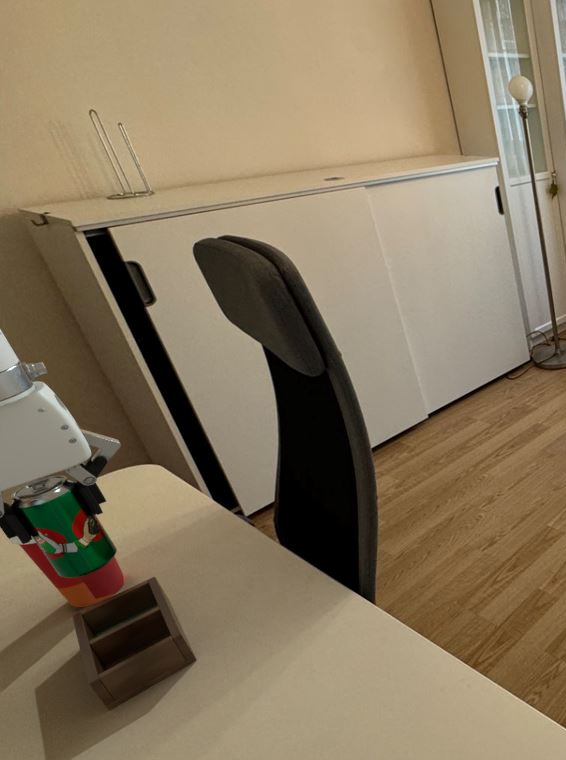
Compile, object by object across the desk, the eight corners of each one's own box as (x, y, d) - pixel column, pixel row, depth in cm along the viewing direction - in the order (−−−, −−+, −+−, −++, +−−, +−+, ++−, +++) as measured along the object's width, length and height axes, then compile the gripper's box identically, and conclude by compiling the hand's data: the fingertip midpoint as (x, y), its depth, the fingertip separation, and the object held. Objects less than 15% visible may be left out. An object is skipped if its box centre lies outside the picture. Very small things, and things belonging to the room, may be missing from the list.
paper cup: (135, 563, 86) (91, 490, 80) (135, 591, 80) (88, 515, 75) (61, 592, 81) (8, 517, 75) (56, 624, 76) (-1, 546, 70)
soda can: (114, 543, 72) (67, 468, 67) (123, 560, 69) (74, 483, 64) (57, 568, 68) (3, 490, 63) (64, 587, 65) (8, 507, 60)
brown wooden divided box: (108, 711, 65) (88, 684, 63) (89, 641, 73) (71, 615, 71) (197, 660, 70) (181, 634, 68) (169, 601, 79) (154, 576, 77)
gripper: (85, 352, 66) (152, 475, 74) (-164, 413, 54) (-54, 553, 62) (96, 368, 62) (165, 497, 70) (-172, 437, 50) (-52, 584, 57)
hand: (62, 522), depth 66 cm, fingers closed on soda can, 5 cm apart
